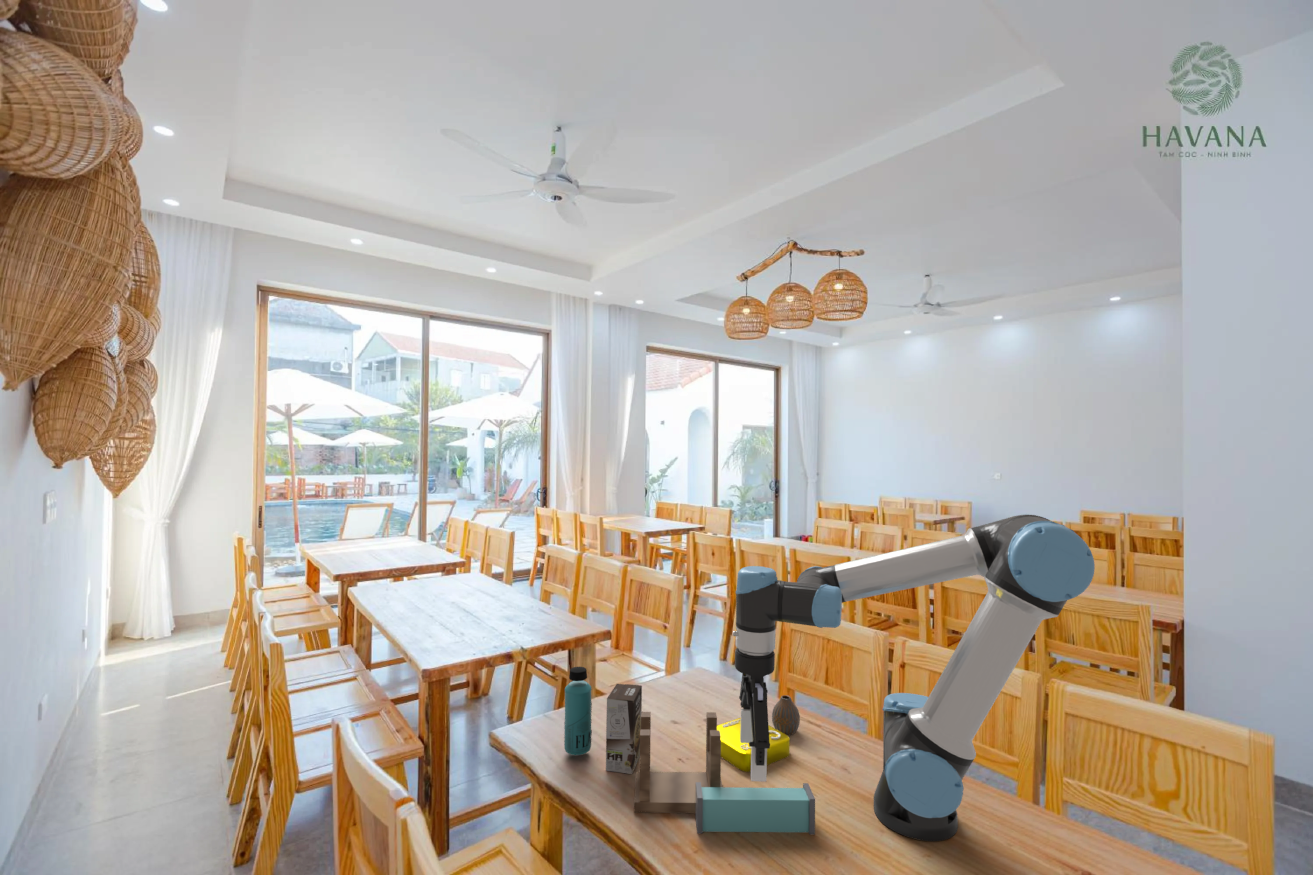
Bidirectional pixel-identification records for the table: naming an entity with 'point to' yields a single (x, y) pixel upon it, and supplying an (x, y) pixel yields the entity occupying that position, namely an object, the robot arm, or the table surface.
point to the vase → (786, 716)
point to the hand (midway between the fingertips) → (752, 760)
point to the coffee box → (623, 728)
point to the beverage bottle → (577, 713)
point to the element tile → (741, 752)
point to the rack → (675, 774)
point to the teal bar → (755, 809)
